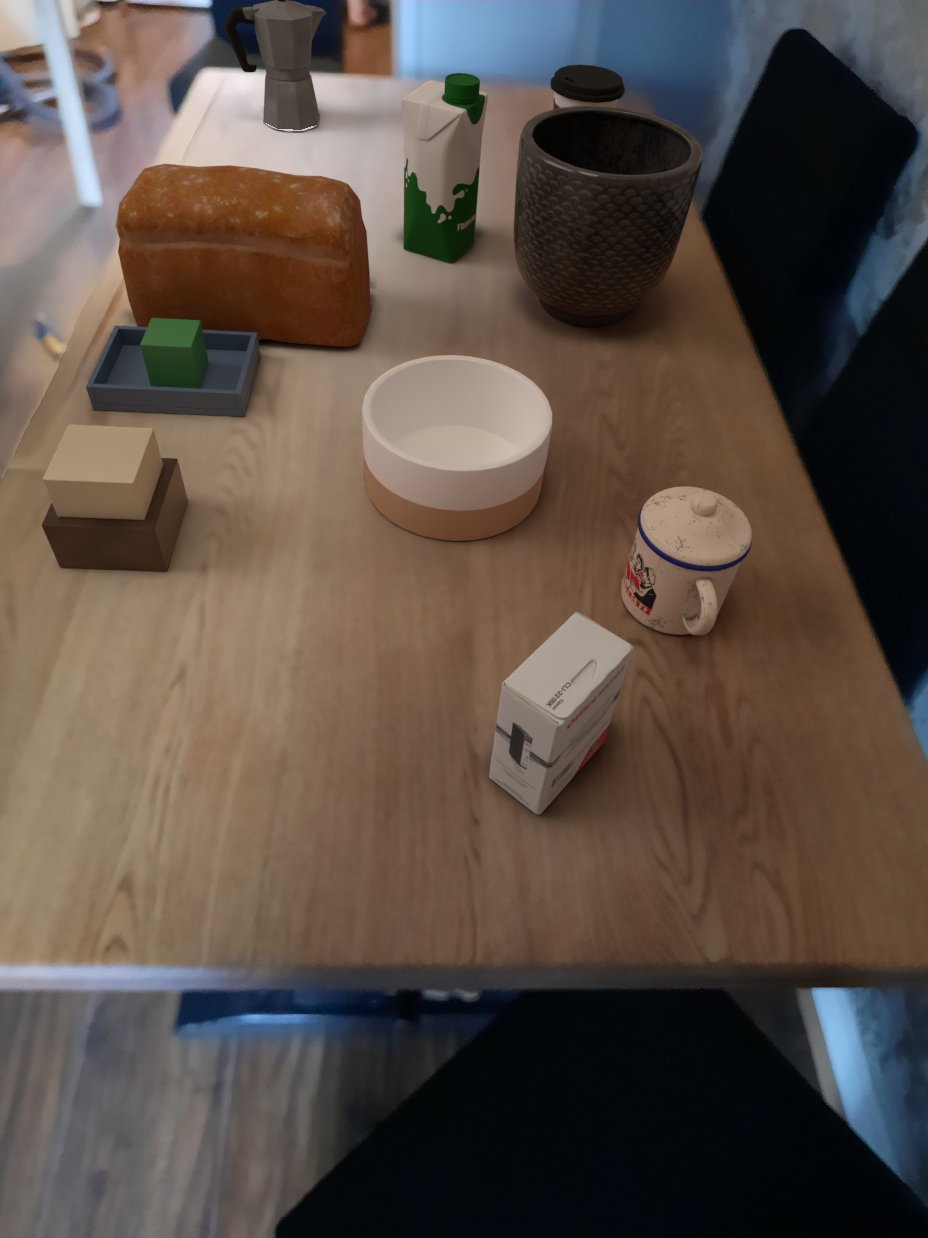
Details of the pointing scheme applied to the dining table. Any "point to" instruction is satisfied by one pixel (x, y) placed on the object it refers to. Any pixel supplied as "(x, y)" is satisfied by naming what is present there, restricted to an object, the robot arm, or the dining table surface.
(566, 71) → the coffee cup
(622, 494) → the dining table surface
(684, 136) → the planter
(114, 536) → the walnut block
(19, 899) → the dining table surface
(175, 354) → the green block
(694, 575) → the teacup with lid
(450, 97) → the milk carton
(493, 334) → the dining table surface
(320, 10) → the coffeepot
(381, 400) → the bowl
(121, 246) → the bread
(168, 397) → the tray
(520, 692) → the ink box
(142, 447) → the cream block
